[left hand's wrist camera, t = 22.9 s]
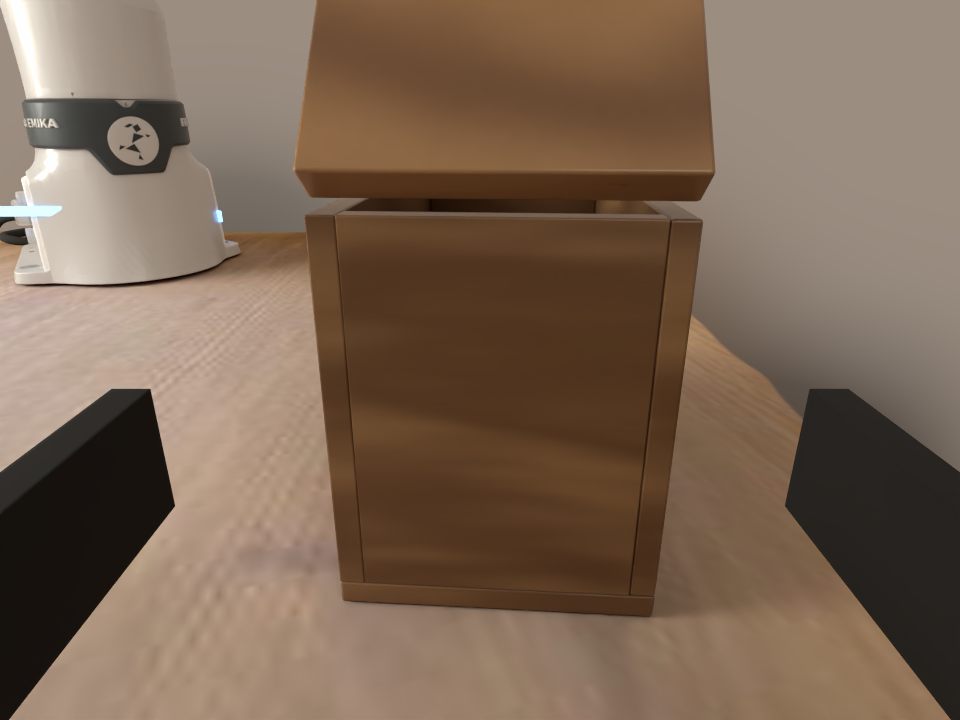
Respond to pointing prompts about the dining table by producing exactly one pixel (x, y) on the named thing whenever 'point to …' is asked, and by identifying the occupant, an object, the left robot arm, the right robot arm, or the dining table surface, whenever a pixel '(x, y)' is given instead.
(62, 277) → the right robot arm
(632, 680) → the dining table surface
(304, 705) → the dining table surface
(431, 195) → the lid
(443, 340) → the chest
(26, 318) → the dining table surface
